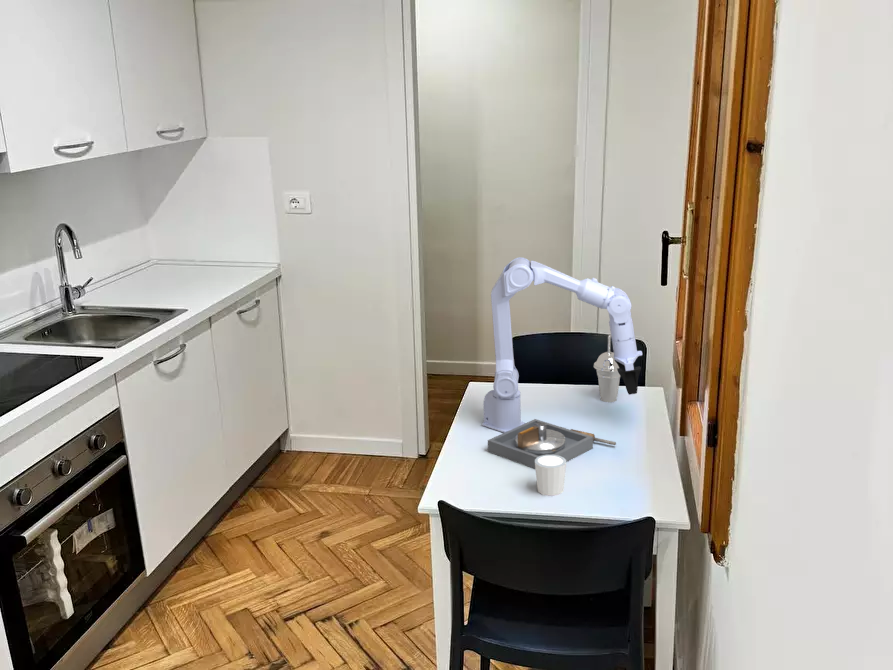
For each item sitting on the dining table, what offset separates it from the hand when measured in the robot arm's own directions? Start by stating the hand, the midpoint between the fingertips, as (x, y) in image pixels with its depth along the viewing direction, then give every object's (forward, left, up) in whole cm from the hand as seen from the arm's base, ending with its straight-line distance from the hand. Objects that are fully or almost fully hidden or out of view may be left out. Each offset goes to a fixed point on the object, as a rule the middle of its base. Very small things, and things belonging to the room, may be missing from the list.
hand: (631, 388), depth 211 cm
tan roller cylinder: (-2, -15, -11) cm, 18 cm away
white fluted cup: (+7, -41, -11) cm, 43 cm away
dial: (-8, -27, -9) cm, 30 cm away
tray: (-8, -26, -11) cm, 29 cm away
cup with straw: (-15, +13, -11) cm, 23 cm away
